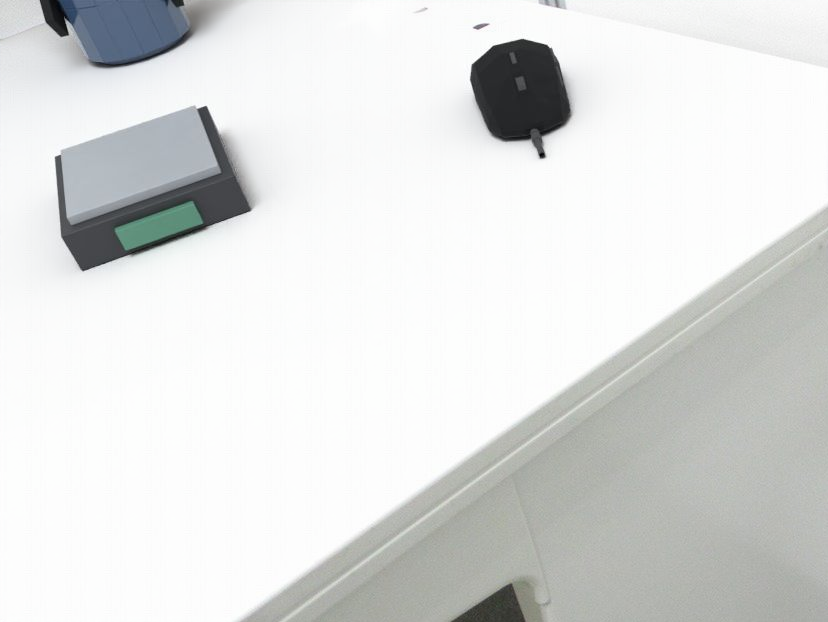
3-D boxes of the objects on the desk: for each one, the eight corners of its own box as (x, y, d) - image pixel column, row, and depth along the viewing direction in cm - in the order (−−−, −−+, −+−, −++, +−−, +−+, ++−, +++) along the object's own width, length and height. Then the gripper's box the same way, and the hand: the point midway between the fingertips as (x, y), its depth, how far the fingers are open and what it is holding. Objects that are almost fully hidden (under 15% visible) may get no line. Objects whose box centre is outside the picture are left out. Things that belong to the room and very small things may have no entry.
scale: (72, 188, 78) (49, 148, 76) (221, 137, 80) (202, 97, 78) (82, 275, 67) (55, 231, 65) (252, 213, 70) (232, 169, 68)
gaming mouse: (494, 170, 68) (477, 110, 66) (471, 85, 79) (456, 30, 77) (590, 145, 69) (577, 84, 66) (554, 63, 80) (542, 8, 77)
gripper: (190, -223, 100) (254, 3, 99) (-50, -164, 99) (12, 65, 98) (158, -285, 93) (227, -42, 92) (-103, -223, 91) (-36, 25, 90)
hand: (116, 13), depth 95 cm, fingers closed on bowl, 10 cm apart
